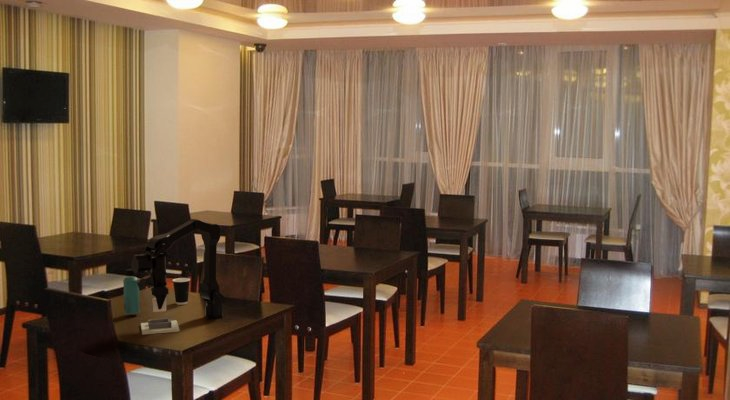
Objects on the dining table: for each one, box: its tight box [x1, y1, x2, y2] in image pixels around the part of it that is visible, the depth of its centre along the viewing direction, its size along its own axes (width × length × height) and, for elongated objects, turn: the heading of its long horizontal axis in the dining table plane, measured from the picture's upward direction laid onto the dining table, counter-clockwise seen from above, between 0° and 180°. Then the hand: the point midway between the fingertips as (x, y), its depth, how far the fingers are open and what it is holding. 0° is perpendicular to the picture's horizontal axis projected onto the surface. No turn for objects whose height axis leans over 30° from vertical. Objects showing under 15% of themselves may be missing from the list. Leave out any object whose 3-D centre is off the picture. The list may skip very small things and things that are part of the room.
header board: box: [140, 317, 180, 336], centre depth 299 cm, size 14×14×3 cm
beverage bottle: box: [122, 268, 141, 315], centre depth 318 cm, size 6×7×20 cm
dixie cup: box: [171, 277, 191, 306], centre depth 341 cm, size 8×8×11 cm
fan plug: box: [149, 296, 167, 313], centre depth 298 cm, size 6×4×5 cm, turn 108°
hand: (159, 307), depth 298 cm, fingers closed on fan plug, 4 cm apart
